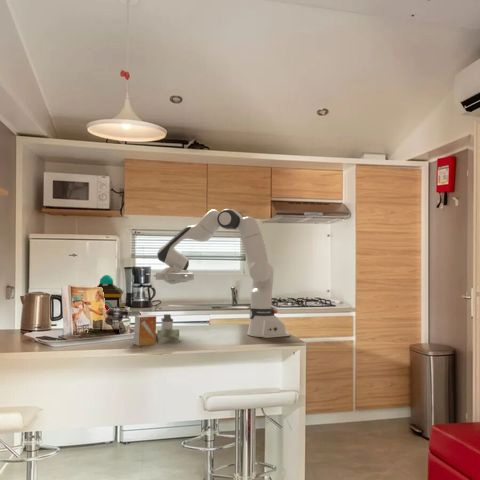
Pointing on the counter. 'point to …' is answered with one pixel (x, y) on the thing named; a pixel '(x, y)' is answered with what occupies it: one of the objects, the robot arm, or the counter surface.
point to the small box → (145, 330)
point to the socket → (167, 336)
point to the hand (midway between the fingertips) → (177, 276)
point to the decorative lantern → (111, 292)
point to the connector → (167, 322)
